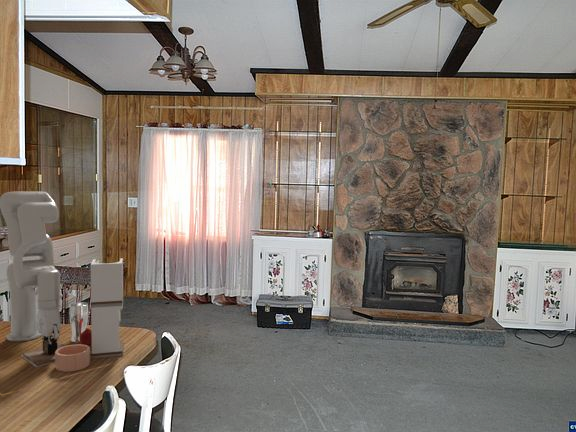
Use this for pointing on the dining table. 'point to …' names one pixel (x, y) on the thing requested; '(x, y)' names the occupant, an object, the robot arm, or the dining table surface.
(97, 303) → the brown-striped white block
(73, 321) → the beer glass
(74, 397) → the dining table surface
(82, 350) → the bowl
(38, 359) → the lid
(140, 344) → the dining table surface
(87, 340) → the onion
